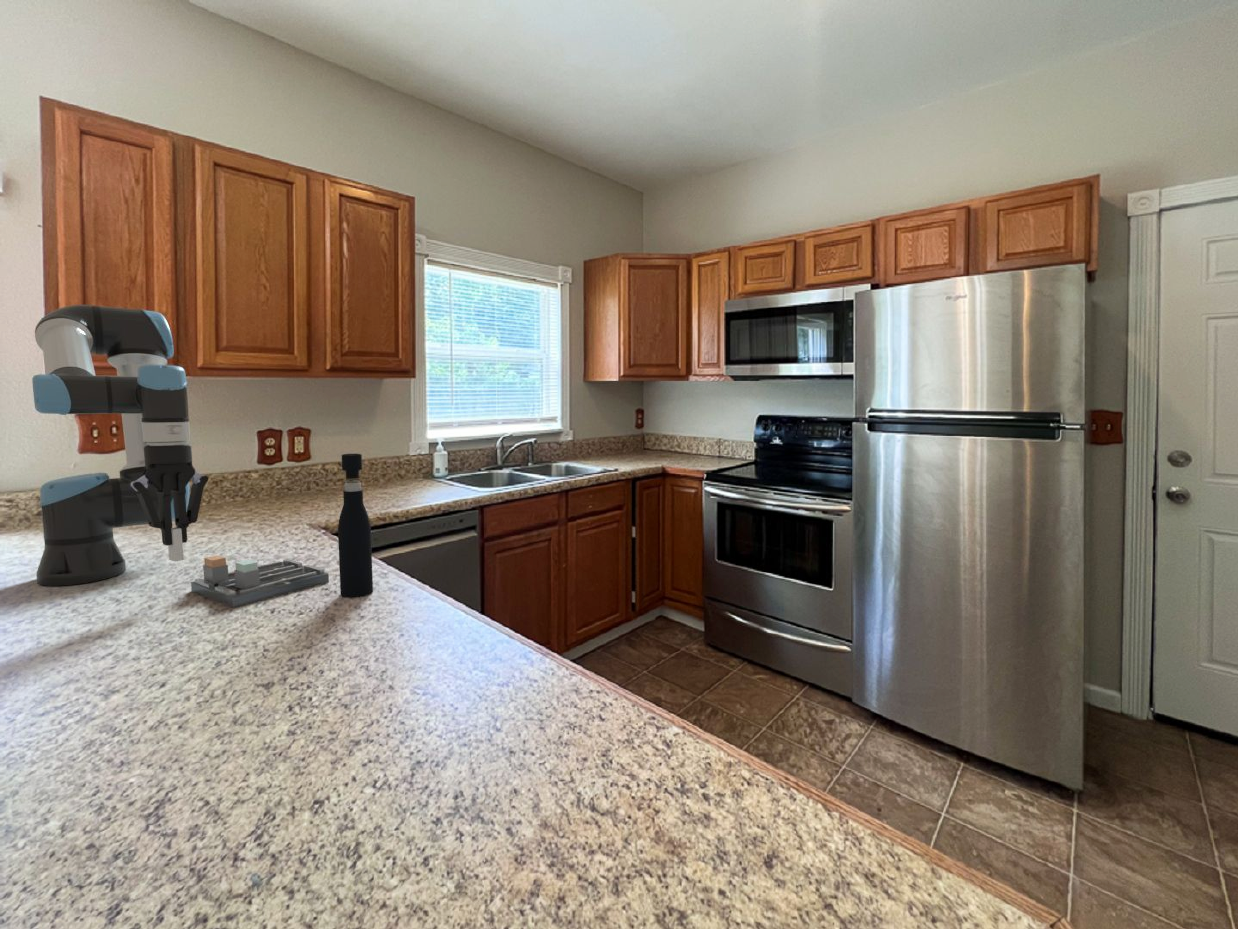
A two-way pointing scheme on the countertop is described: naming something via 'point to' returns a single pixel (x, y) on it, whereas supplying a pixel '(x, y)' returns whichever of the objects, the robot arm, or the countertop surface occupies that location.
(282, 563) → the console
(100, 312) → the robot arm
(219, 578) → the knob
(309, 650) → the countertop surface
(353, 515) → the black water bottle
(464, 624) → the countertop surface
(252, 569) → the knob
